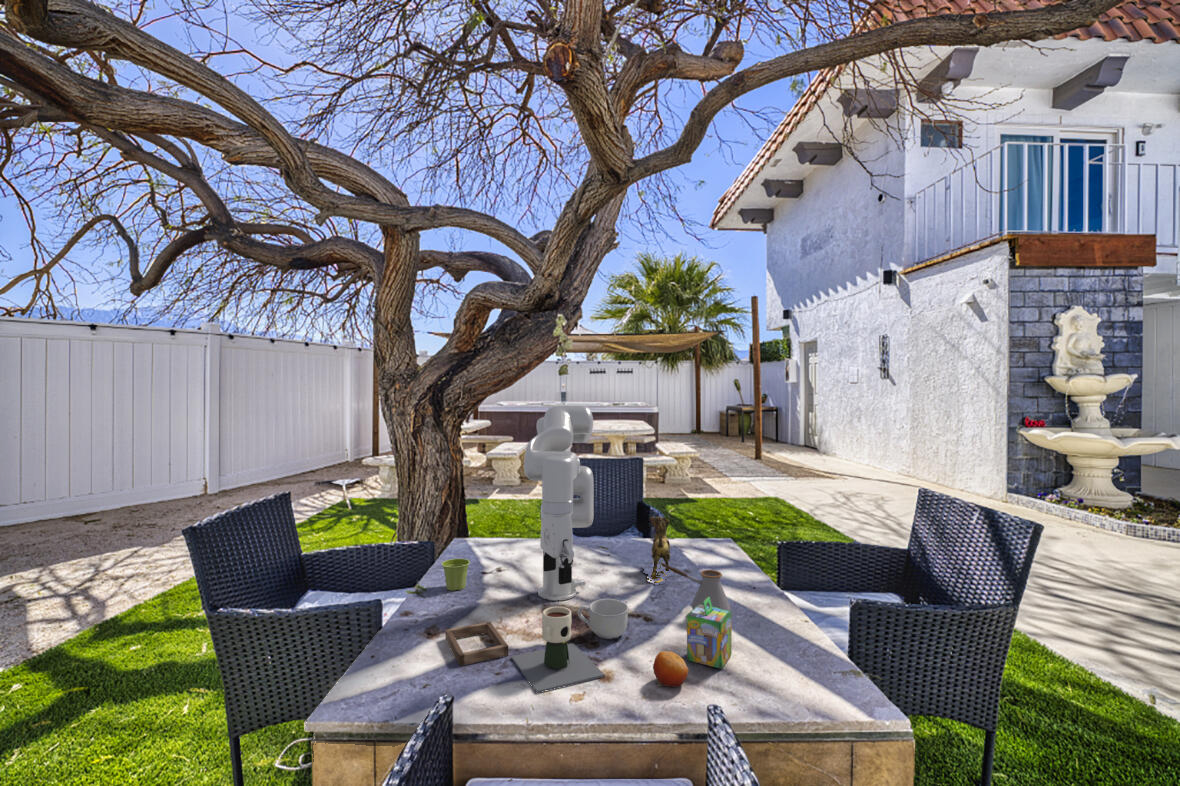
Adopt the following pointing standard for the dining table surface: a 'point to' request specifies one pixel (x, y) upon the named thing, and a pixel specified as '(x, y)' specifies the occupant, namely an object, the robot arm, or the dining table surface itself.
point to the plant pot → (455, 573)
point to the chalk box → (709, 635)
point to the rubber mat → (553, 678)
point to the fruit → (670, 669)
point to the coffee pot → (707, 588)
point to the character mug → (556, 636)
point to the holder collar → (476, 655)
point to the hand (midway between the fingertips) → (557, 576)
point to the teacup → (606, 617)
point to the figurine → (660, 545)
